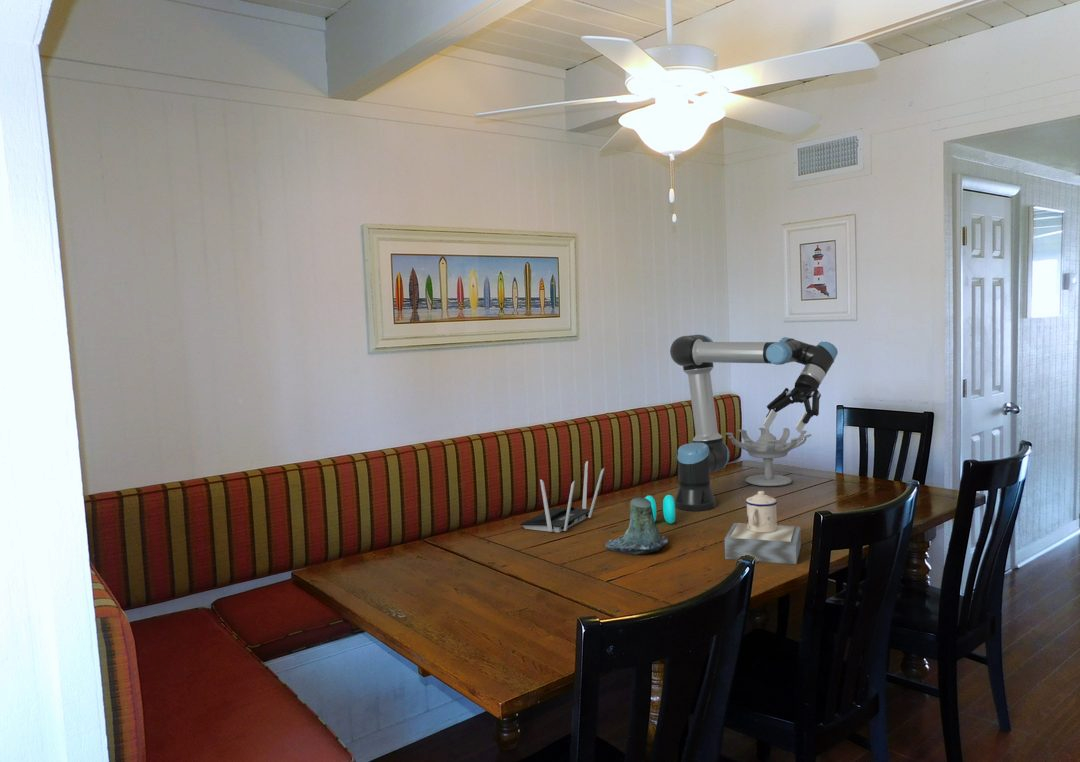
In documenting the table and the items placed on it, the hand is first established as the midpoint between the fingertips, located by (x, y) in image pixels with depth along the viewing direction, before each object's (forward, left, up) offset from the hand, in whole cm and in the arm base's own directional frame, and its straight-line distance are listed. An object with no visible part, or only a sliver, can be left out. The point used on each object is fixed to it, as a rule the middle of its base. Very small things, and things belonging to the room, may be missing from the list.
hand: (781, 428), depth 256 cm
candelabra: (-12, +63, -33) cm, 72 cm away
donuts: (-41, -9, -33) cm, 53 cm away
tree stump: (-41, -38, -33) cm, 65 cm away
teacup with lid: (-4, -33, -26) cm, 43 cm away
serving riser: (-3, -34, -33) cm, 47 cm away
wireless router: (-73, -18, -33) cm, 82 cm away
